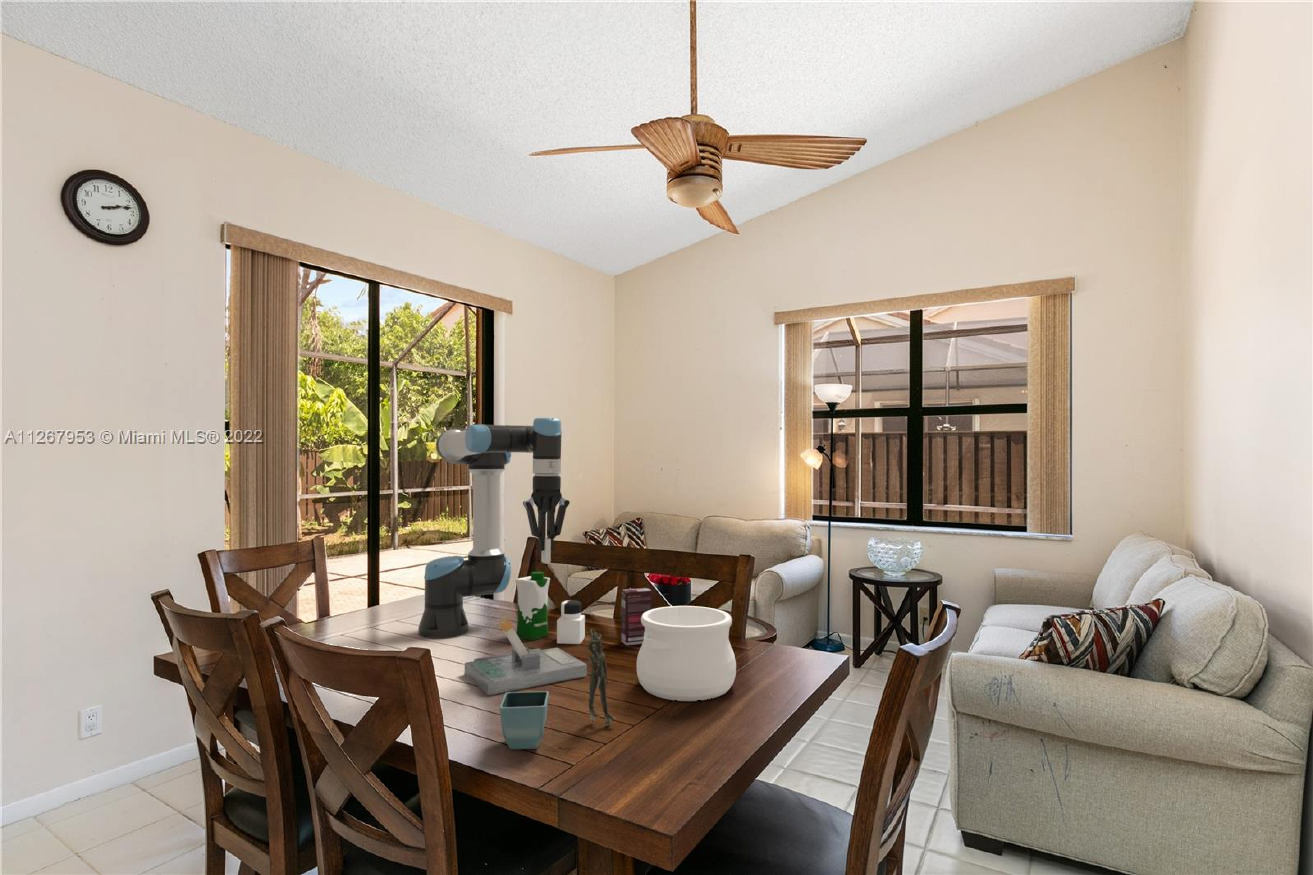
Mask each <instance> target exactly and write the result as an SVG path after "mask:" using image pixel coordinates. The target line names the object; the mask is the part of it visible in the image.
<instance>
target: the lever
mask: <svg viewBox="0 0 1313 875" xmlns="http://www.w3.org/2000/svg"><path fill="white" fill-rule="evenodd" d="M497 624H498V625H499V627H500V629H501V630H502V631H503V633H504V634H505V636H506V638H507V639H508V640H509V642H510V644H511V645H512V648H513V649H515V650H516V652H517V654H518V655H519V657H520V658H521V659H522V656H523V655H529V653H528V652H527V650H526V648H525V647H526V646H524V644H523V642H522V641H521V638H519V637H518V636H517V634H516V633H517V631H515V629H514V627H513V625H512V623H511V622H510V620H509V619H508V618H506V617H504V616H503V617H502V618H501V619H499V620H498V621H497Z"/></svg>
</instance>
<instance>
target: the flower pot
mask: <svg viewBox="0 0 1313 875" xmlns="http://www.w3.org/2000/svg"><path fill="white" fill-rule="evenodd" d="M549 694H550V693H549V691H548V690H545V691H540V690H539V691H537V690H536V691H509V692H504V695H503V699H502V701H501V704H500V705H499V715H500V722H501V731H502V735H503V738H504V740H505V741H504V742H505V744H507V746H508V748H510V750H528V749H529V750H532V749H534V750H535V749H537V748H538V747H539V744H540V743H541V740H542V738H543V735H544V731H545V724H546V720H547V714H548V706H549V704H548V703H549Z"/></svg>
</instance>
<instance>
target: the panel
mask: <svg viewBox="0 0 1313 875" xmlns="http://www.w3.org/2000/svg"><path fill="white" fill-rule="evenodd" d="M524 647H525V648H526V650H527V652H528V653H529V655H523V656H522V659H521V658H520V657H519V655H518V654H517V652H516V650H515V649H514V648H511V653H512V655H509V656H503V657H497V658H491V659H485V660H479V661H474V660H473V661H469V662H467V661H466V662H464V675H465V676H466V677H467V678H468V679H469V681H471V682H472V683H474V685H476V686H477V687H478V688H479V689H480V690H482V692H484V694H486V695H487V696H492V695H498V694H503V693H504V694H505V693H507V692H515V691H519V690H525V689H529V688H534V687H535V688H536V687H539V686H544V685H549V684H550V685H551V684H554V683H560V682H564V681H565V682H566V681H570V680H574V679H582V678H584V677H585V678H586V677H587V676H588V664H586V662H584V661H582V660H580V659H578V658H577V657H574V656H573V655H571V654H569V653H568V652H566V651H564V650H562V649H561V648H559V647H553V648H546V649H541V650H539V651H533V652H529V650H530V648H529V647H528V646H524Z"/></svg>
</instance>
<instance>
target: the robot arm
mask: <svg viewBox="0 0 1313 875" xmlns="http://www.w3.org/2000/svg"><path fill="white" fill-rule="evenodd" d="M562 433H563V432H562V421H561V420H560V419H559V418H557V417H536V418H534V420H533V423H532V425H507V424H506V425H502V424H501V425H500V424H497V425H496V424H483V423H481V424H480V423H479V424H471V425H469V426H467V428H453V429H449V430H445V431H444V432H442V433H440V434H439V436H438V437H437V439H436V442H435V450H436V453H437V455H438V456H439V457H440V458H441V459H442V460H444V461H446V462H448V463H450V464H455V465H468V469H467V470H468V471H469V472H470V473H471V474H472V477H473V478H472V485H473V486H472V491H473V492H472V495H473V496H472V515H473V516H472V549H471V550H470V551H469V552H468V553H467V559H464V557H463V556H461V555H449V556H443V557H439V558H436V559H435V558H434V559H433V560H430V561H428V562H427V563H426V565H425V567H424V577H423V579H424V609H423V612H422V616H421V619H420V622H419V624H418V636H419V637H421V638H427V639H449V638H455V637H459V636H463V635H465V634H467V633H468V632H469V622H468V619H467V616H466V612H465V609H464V598H466V597H475V596H482V595H483V596H484V595H493V594H498V593H502V592H504V591H505V590H506V589H507V588H508V586H509V583H510V582H511V581H510V580H511V575H512V565H511V560H510V559H509V557H507V556H505V551H504V550H503V549H502V548H501V546H500V545H501V544H500V543H501V539H500V538H501V537H500V536H501V512H500V511H501V501H500V500H501V499H500V498H501V488H500V487H501V475H502V474H503V472H504V471H505V467H506V465H508V464H509V463H510V462H511V460H512V459H511V457H512V453H527V454H529V453H530V454H532V474H534V475H533V477H532V493H531V495H530V498H529V499H527V500H524V501H523V502H522V505H523V507H524V509H525V510H526V515H527V520H528V523H529V528H530V533H531V535H532V536H533V537H536V538H537V539H538V545H537V546H538V547H537V548H538V551H541V555H540V556H541V560H540V561H541V563H542V564H545V565H546V564H551V561H552V560H551V558H552V557H551V555H552V553H551V552H552V551H553V550H554V548H555V547H554V544H555V542H554V540H555V538H556V537H558V536H561V533H562V528H563V526H564V520H565V516H566V513H567V512H566V511H567V508H568V506H570V503H571V502H570V500H568V499H566V498H564V497H563V495H562V492H561V488H562V487H561V486H562V485H561V484H562V481H561V480H562V479H561V478H562V477H561V476H560V474H561V473H562ZM534 505H535V506H536V508H537V516H536V512H535V509H534ZM558 505H559V506H558ZM557 506H558V508H557V513H556V507H557ZM555 514H556V517H555Z"/></svg>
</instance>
